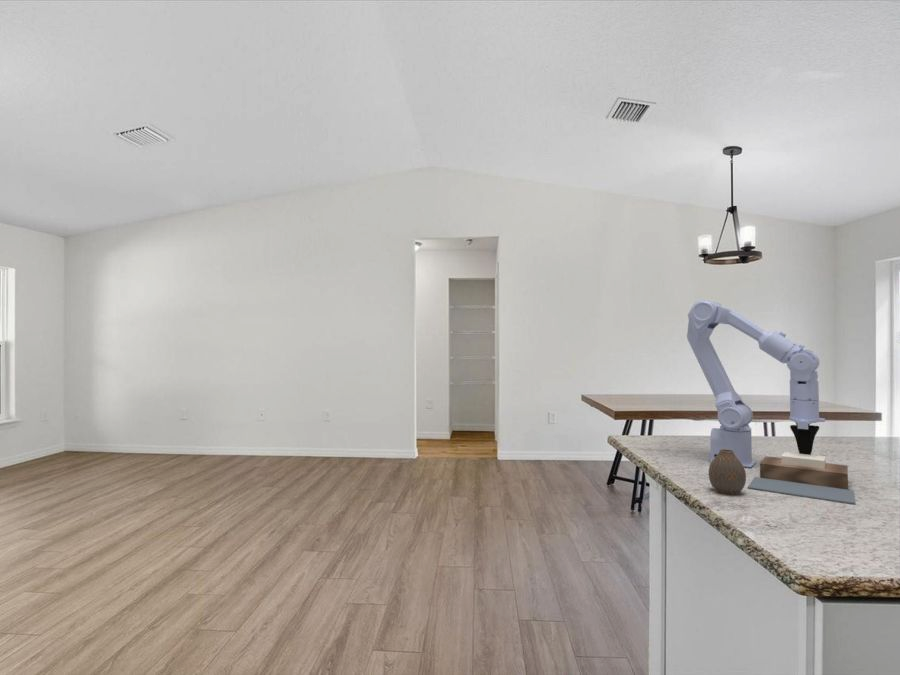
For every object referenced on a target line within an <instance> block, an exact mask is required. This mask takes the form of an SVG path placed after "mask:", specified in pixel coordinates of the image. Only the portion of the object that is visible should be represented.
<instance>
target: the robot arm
mask: <svg viewBox="0 0 900 675" xmlns="http://www.w3.org/2000/svg"><path fill="white" fill-rule="evenodd" d="M687 317H688V322H687V323H688V325H687V334H686V338H687V341H688V343H689V345H690V348H691V350H692V352H693V354H694V356H695V358H696V360H697V363H698V364H699V366H700V369H701V370H702V373H703V374H704V377H705V379H706V381H707V383H708V386H709V387H710V389H711V392H712V394H713V396H714V397H715V399H714V401H715V403H714V405H715V408H716V411H717V420H718V423H719V424H720V425H719V428H716V427H713V428H711V431H710V437H709V440H710V441H709V442H710V443H709V445H710V449H709V450H710V461H709V463H711V462H712V460H713V459H714V458H715V457H716V456H717V455H718V453H719V451H720V450H721V449H728V450H732V451H733V452H734V454H735V456H736V457H737V458H738V459H739V461H740V462H741V463H742V465H743V467H744V468H752V467H753V466H754V465H755V464H756V460H755V459H754V460H753V454H752V453H753V450H752V449H753V446H752V441H753V440H752V438H753V437H752V428H751V427H750V425H749V424H750V423H752V421H753V419H754V413H753V410H752V409H751V407H750V406H748V405H747V404H746V403H745V402H744V401H743V399H742V397H741V396H740V395H739V394H738V393H737V392H736V390H735V388H734V386H733V384H732V382H731V380H730V378H729V376H728V374H727V372H726V370H725V367H724V366H723V364H722V361H721V359H720V358H719V356H718V354H717V352H716V350H715V347H714V346H713V343H712V341H711V339H710V338H711V335H712V333H713V332H714V330H715V329H716V327H717V326H718V325H719V324H722V325H729V326H731V327H733V328H734V329H736V330H738V331H740V332H741V333H743V334H744V335H747V336H749V338H752V339H754V340H755V341H756V342H757V343H758V346H759V348H758V349H760V350H761V351H763V352H764V353H766V354H767V355H769V356H770V357H772V358H773V359H775V360H777V361H778V362H780V363H781V364H786V367H787V369H788V370H789V372H790V374H789V375H790V379H789V408H790V409H789V411H790V412H789V418H788V419H789V421H792V422H794V423H796V424H791V425H790V426H789V427H790V431H791V432H792V433H793V436H794V439H795V441H796V444H797V451H798V454H807V455H812V453H813V446H814V442H815V437H816V435H817V433H818V432H819V430H820V426H819V425H813V424H816V423H825V422H826V418H822V417H820V406H819V405H820V401H819V400H820V399H819V393H820V390H819V389H820V388H819V380H818V378H819V374H818V370H817V369H818V368H819V366H820V359H819V356H818V355H817V354H815V353H814V352H813V351H812V350H810V349H804V348H805V345H803V344H800V343H799V344H798V343H796V342H795V341H794V340H791V339H789V338H788V337H786V336H787V334H786V333H785V332H783V331H779V332H778V331H776V330H771V331H766V330H765V329H763V328H762V327H760V326H758V324H755V323H754V322H752V321H751V320H749V319H748V318H747V317H745V316H743V315H742V314H741V313H739V312H737V311H736V310H733V309H731V308H729V307H727V306H723V304H721V303H720V302H719V303H718V302H715V301H714V302H713V301H710V300H706V299H701V300H698V301H696V302H695V303H694V304H693V305H692V307H691V308H690V310H689V312H688V313H687ZM811 424H812V425H811Z"/></svg>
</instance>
